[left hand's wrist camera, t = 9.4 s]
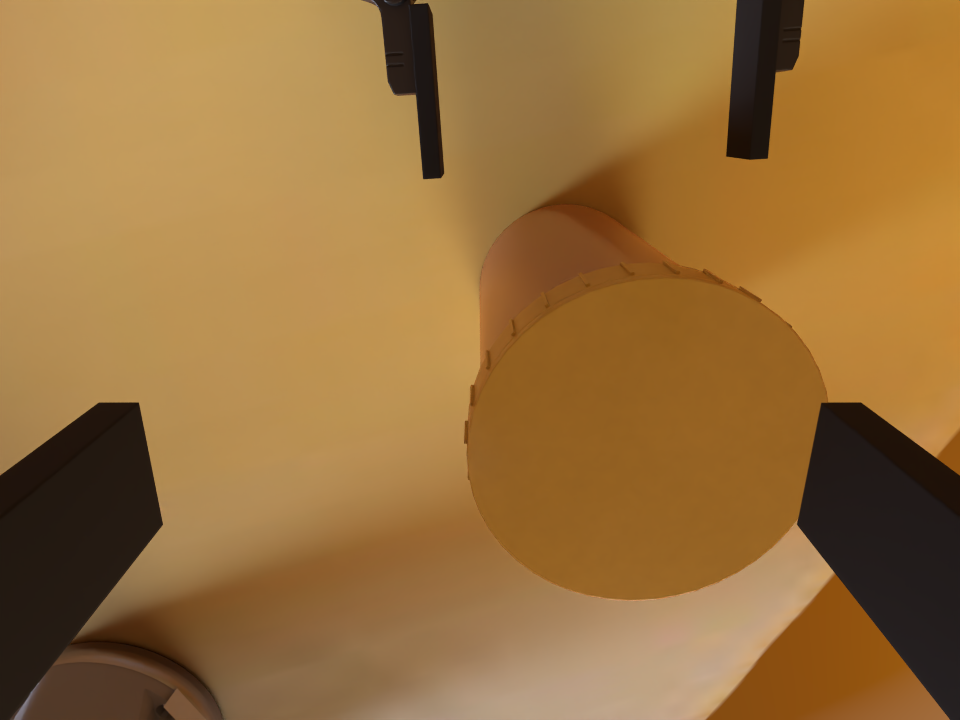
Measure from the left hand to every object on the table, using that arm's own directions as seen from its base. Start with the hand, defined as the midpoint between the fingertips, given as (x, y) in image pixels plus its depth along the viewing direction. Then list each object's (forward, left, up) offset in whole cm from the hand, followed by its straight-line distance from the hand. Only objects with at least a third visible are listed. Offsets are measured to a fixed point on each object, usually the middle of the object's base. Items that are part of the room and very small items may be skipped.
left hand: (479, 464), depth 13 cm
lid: (-2, -5, -5) cm, 8 cm away
